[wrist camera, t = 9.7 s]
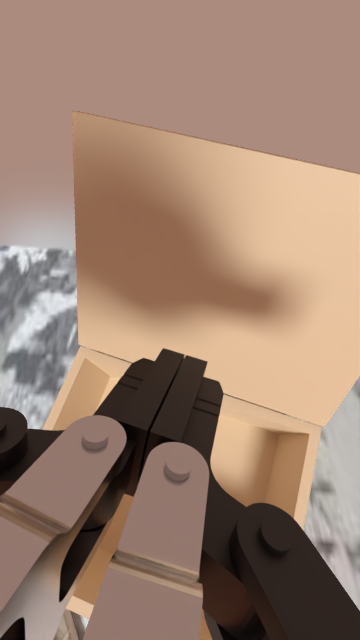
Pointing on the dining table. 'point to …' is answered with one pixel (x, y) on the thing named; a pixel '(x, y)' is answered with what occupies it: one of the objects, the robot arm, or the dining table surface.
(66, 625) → the packaged product
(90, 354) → the mailer box
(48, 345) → the dining table surface
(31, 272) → the dining table surface
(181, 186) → the lid
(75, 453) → the robot arm
